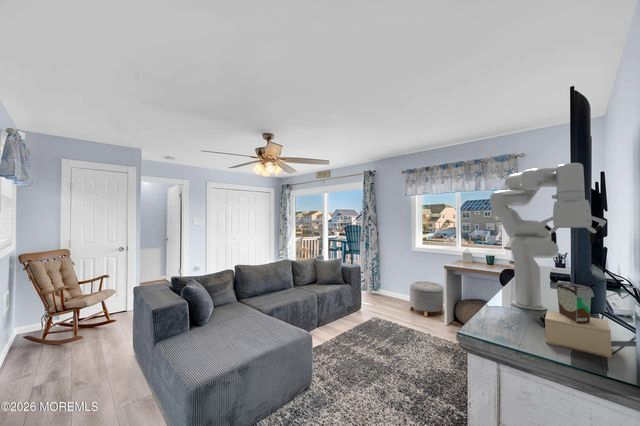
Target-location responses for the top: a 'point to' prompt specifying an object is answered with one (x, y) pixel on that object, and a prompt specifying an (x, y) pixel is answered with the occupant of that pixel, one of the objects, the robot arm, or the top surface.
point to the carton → (579, 338)
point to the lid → (593, 324)
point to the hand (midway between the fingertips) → (572, 243)
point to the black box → (542, 319)
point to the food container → (574, 301)
